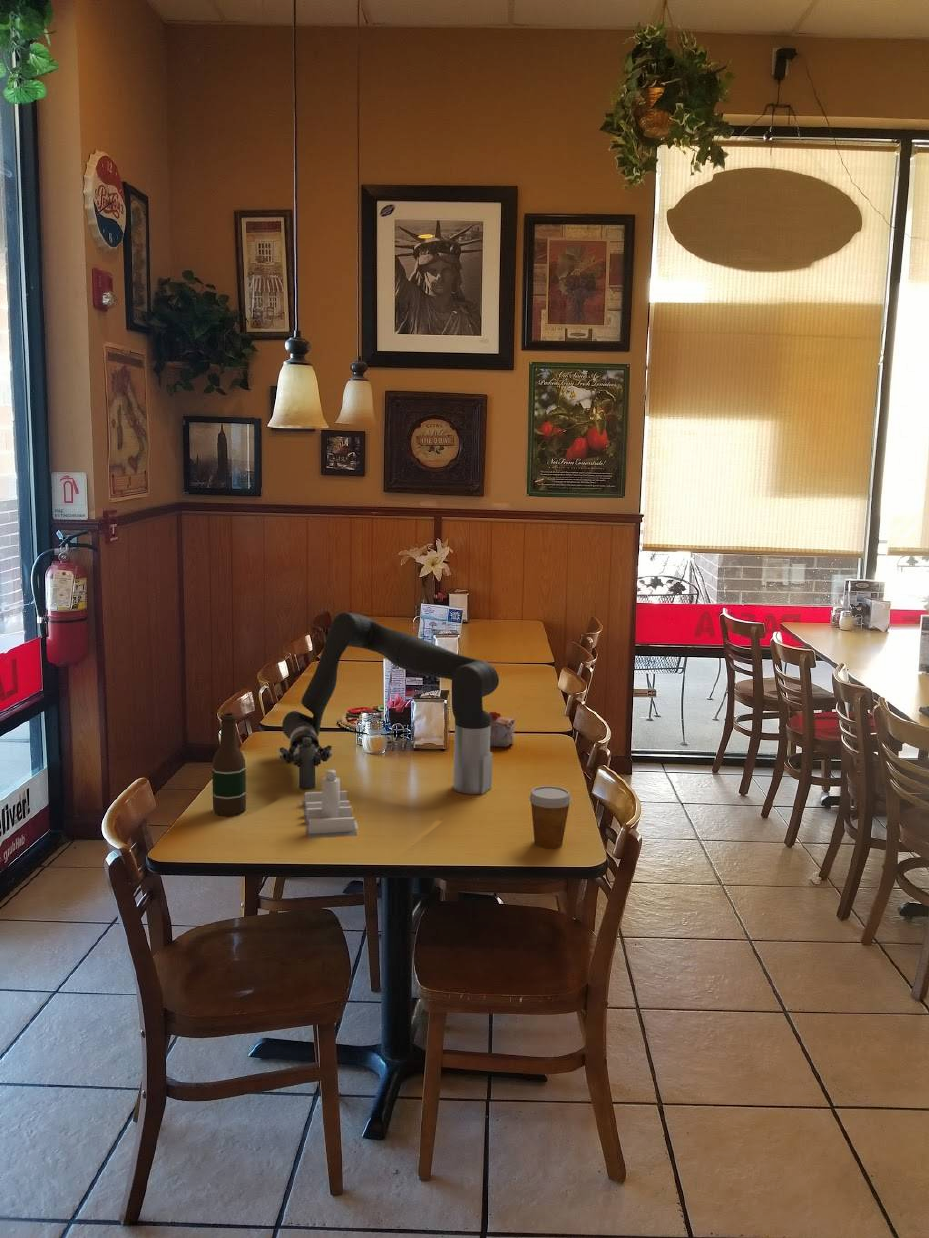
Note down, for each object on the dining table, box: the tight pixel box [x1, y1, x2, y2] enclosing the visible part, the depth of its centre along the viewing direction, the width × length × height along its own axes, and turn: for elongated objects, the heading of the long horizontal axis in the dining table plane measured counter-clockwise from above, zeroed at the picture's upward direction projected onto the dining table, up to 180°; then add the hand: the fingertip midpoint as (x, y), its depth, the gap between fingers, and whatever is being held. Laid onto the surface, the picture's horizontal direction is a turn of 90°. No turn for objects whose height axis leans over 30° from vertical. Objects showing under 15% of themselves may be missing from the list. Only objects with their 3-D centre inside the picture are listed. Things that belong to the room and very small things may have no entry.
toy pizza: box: [337, 704, 384, 733], centre depth 325 cm, size 28×28×4 cm
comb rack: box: [301, 790, 359, 839], centre depth 238 cm, size 24×12×4 cm, turn 12°
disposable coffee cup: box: [528, 785, 573, 849], centre depth 229 cm, size 10×10×12 cm
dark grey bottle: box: [298, 737, 316, 791], centre depth 258 cm, size 4×4×13 cm
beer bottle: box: [211, 712, 247, 818], centre depth 242 cm, size 8×8×24 cm
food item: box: [488, 711, 516, 748], centre depth 304 cm, size 14×8×10 cm, turn 71°
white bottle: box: [321, 769, 341, 819], centre depth 232 cm, size 4×4×13 cm
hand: (307, 762), depth 255 cm, fingers closed on dark grey bottle, 4 cm apart
